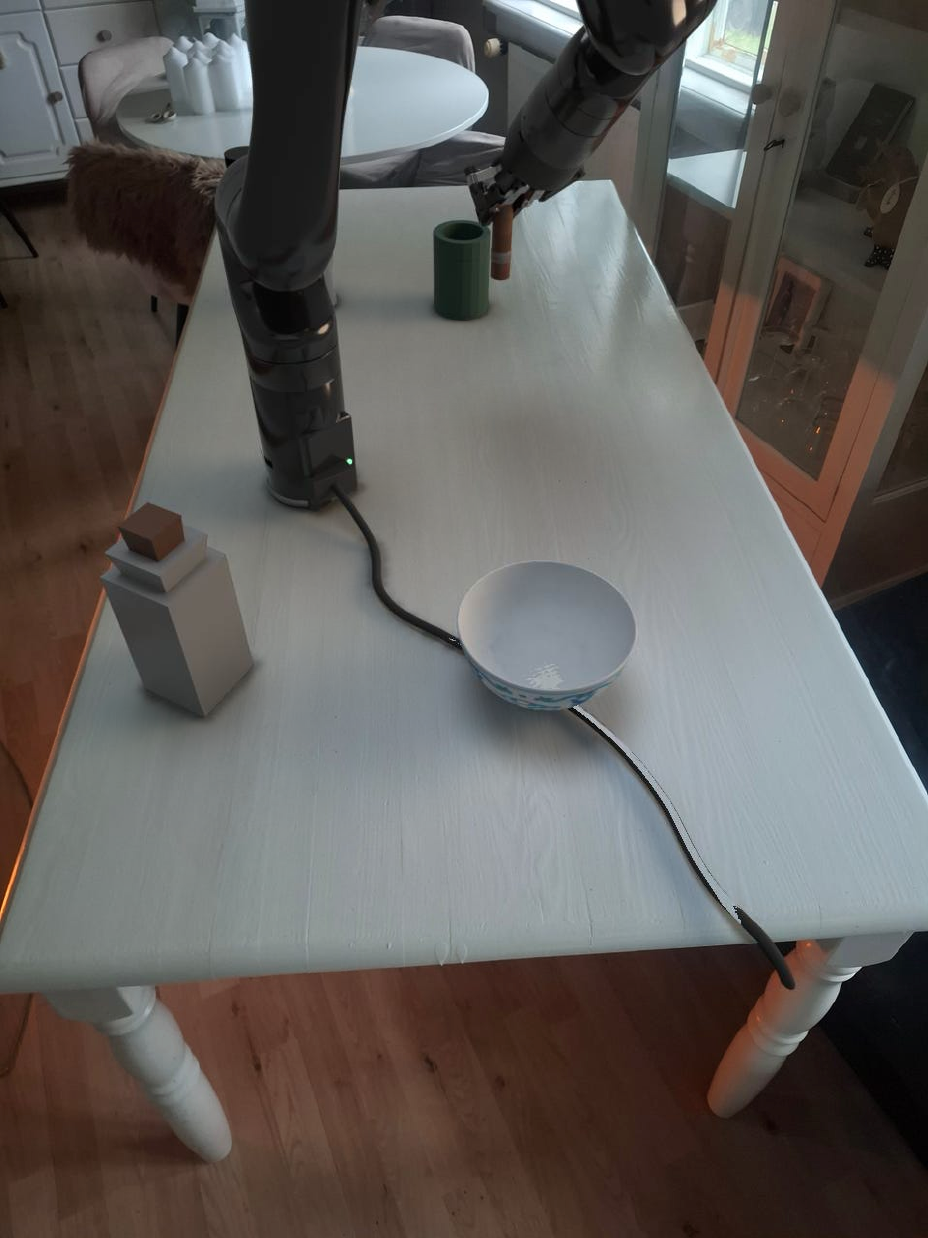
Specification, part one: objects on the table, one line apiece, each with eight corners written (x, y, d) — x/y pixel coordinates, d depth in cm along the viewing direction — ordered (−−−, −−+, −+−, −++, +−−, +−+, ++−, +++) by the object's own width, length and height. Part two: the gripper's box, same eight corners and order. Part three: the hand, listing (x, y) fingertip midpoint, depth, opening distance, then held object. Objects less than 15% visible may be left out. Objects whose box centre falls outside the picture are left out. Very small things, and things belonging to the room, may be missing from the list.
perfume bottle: (144, 688, 76) (81, 532, 63) (195, 638, 80) (145, 482, 67) (205, 717, 74) (153, 562, 61) (253, 664, 78) (214, 509, 65)
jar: (498, 307, 126) (502, 231, 118) (461, 325, 122) (462, 248, 114) (460, 290, 130) (461, 214, 122) (423, 307, 126) (421, 230, 118)
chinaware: (522, 596, 84) (528, 537, 79) (655, 672, 78) (671, 612, 72) (421, 687, 76) (419, 628, 71) (560, 780, 70) (570, 722, 64)
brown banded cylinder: (514, 276, 98) (519, 182, 90) (500, 282, 96) (505, 188, 89) (499, 269, 99) (503, 176, 92) (485, 275, 98) (489, 182, 90)
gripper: (613, 76, 80) (538, 173, 97) (480, 93, 76) (425, 191, 92) (635, 156, 81) (557, 239, 97) (505, 177, 76) (446, 260, 93)
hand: (493, 215), depth 95 cm, fingers closed on brown banded cylinder, 2 cm apart
